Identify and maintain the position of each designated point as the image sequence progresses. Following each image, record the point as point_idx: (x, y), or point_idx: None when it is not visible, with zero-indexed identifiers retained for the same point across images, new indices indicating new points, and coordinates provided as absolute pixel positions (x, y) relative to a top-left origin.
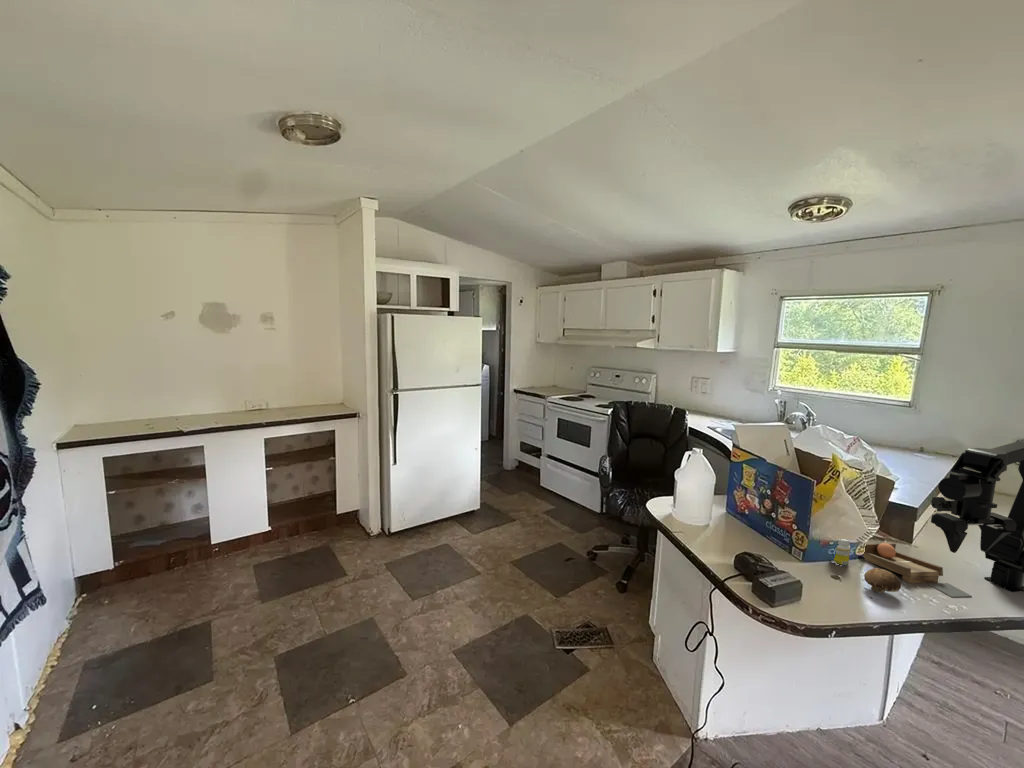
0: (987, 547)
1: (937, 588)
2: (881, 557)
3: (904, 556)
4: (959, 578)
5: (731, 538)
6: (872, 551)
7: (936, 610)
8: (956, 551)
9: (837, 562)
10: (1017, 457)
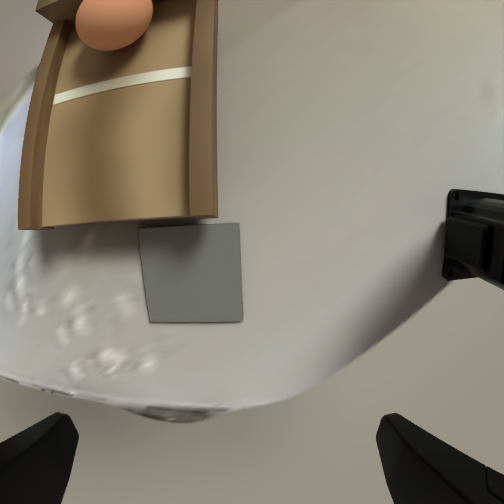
0: (389, 481)
1: (142, 267)
2: None
3: (195, 33)
4: (356, 177)
5: None
6: None
7: (54, 363)
8: (74, 450)
9: None
10: None
